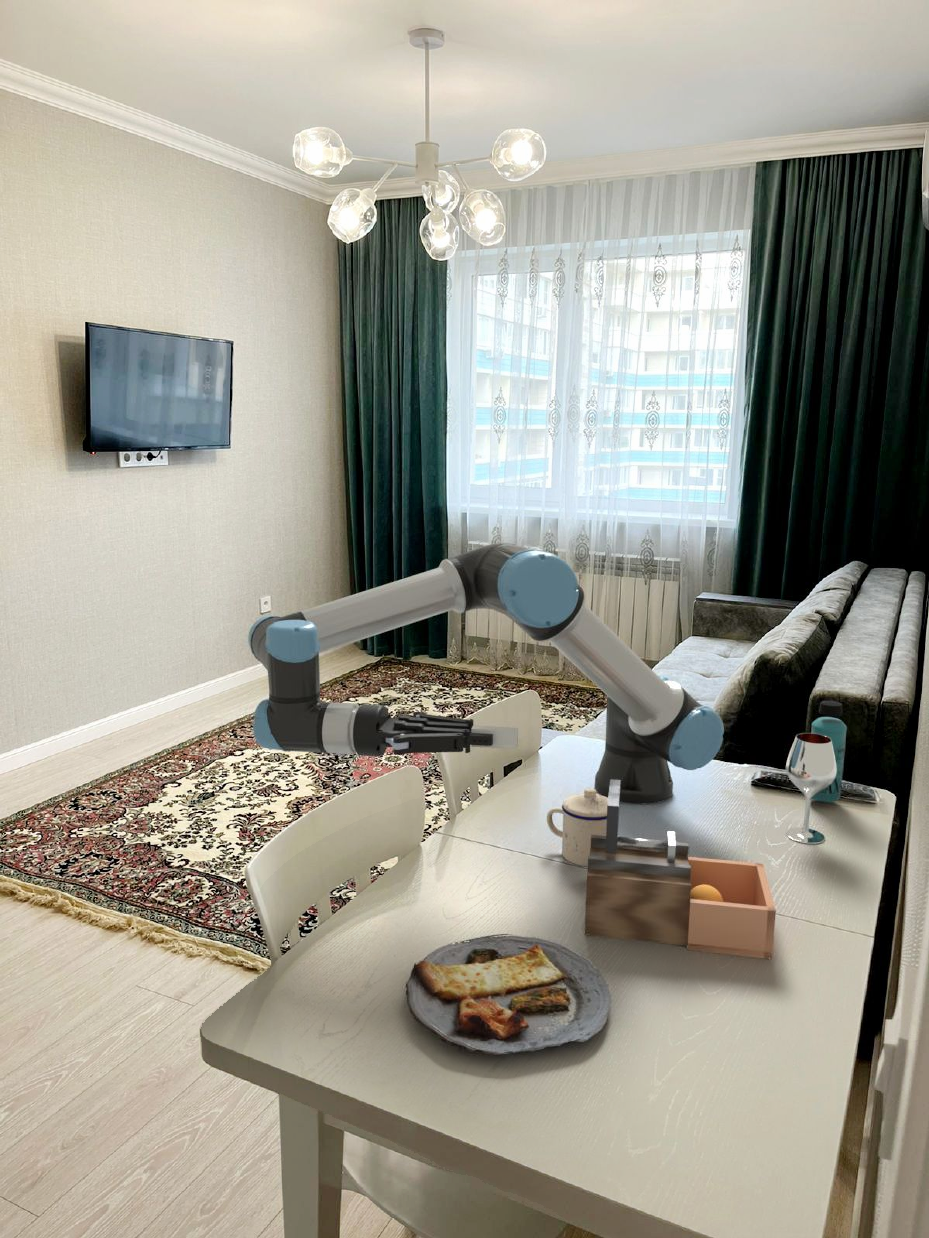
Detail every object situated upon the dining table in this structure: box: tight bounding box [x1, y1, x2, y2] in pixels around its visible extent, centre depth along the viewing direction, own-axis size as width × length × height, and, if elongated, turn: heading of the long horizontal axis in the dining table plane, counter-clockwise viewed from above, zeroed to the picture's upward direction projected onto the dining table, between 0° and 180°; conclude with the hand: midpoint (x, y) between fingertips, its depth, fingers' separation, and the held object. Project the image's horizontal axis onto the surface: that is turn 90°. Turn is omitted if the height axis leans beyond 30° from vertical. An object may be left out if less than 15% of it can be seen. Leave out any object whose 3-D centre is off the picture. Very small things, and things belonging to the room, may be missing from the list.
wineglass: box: [785, 732, 837, 845], centre depth 158 cm, size 8×8×18 cm
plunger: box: [605, 779, 676, 863], centre depth 130 cm, size 10×10×9 cm
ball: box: [690, 885, 723, 902], centre depth 130 cm, size 5×5×5 cm
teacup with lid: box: [546, 787, 608, 867], centre depth 152 cm, size 12×9×12 cm
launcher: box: [584, 835, 691, 947], centre depth 131 cm, size 14×12×10 cm
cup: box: [686, 856, 777, 960], centre depth 129 cm, size 11×14×7 cm
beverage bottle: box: [810, 700, 848, 803], centre depth 173 cm, size 6×7×20 cm
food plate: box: [405, 933, 612, 1056], centre depth 113 cm, size 25×23×4 cm
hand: (516, 738), depth 130 cm, fingers closed
